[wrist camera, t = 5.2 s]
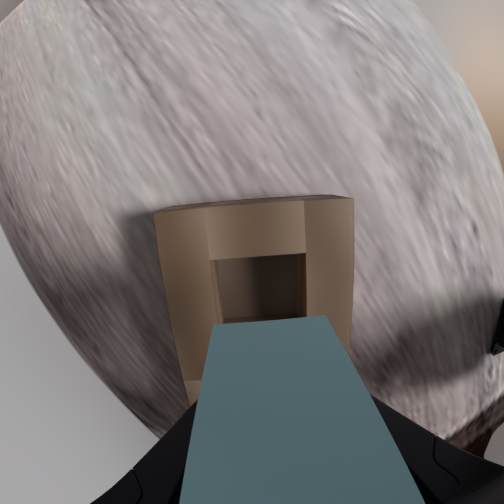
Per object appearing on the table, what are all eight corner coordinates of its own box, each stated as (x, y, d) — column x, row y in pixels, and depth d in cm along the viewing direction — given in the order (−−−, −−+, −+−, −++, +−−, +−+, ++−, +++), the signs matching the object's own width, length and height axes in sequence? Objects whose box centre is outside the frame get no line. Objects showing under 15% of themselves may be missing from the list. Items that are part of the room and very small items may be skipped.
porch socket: (338, 194, 18) (428, 210, 8) (329, 419, 22) (358, 508, 13) (164, 207, 18) (84, 236, 8) (205, 429, 22) (193, 523, 13)
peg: (321, 397, 10) (381, 593, 2) (226, 405, 10) (215, 614, 2) (325, 314, 9) (450, 559, 1) (213, 324, 9) (164, 603, 1)
